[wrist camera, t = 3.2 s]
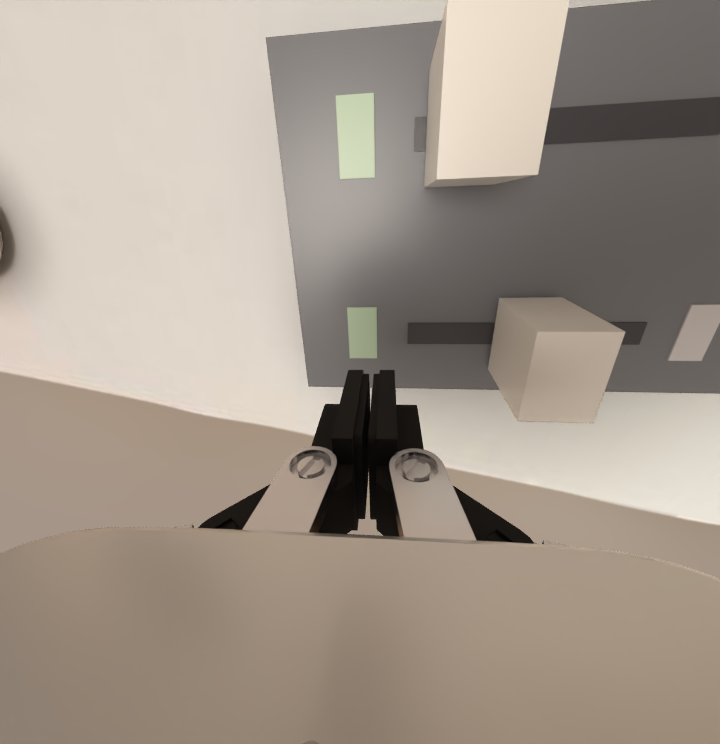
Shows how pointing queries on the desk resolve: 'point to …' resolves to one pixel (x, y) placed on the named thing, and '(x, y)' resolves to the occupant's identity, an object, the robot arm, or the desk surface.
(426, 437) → the desk surface
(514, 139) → the block
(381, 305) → the slider switch panel
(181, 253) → the desk surface
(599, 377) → the white slider handle
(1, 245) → the can
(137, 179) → the desk surface
